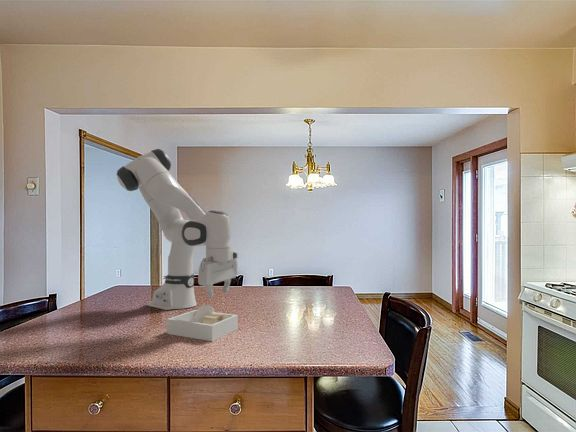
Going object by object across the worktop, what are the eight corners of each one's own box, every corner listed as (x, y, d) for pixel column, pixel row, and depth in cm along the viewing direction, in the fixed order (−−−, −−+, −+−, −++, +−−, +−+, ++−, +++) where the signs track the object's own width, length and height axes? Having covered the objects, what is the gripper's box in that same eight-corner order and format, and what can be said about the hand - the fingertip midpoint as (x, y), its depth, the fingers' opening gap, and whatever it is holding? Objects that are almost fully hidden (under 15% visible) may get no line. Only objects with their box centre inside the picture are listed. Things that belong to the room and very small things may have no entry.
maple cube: (215, 333, 127) (215, 318, 127) (203, 331, 129) (203, 316, 129) (223, 329, 132) (223, 314, 132) (211, 327, 134) (212, 313, 134)
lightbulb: (182, 325, 134) (205, 307, 142) (193, 336, 132) (216, 318, 139) (182, 315, 130) (207, 298, 138) (194, 327, 128) (218, 309, 135)
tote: (166, 333, 130) (166, 319, 130) (195, 322, 143) (195, 309, 143) (212, 341, 122) (212, 325, 122) (237, 329, 135) (237, 315, 135)
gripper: (209, 259, 126) (209, 300, 126) (240, 253, 144) (240, 289, 144) (193, 258, 128) (193, 299, 128) (226, 252, 147) (226, 288, 147)
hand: (218, 293), depth 136 cm, fingers open, 8 cm apart
